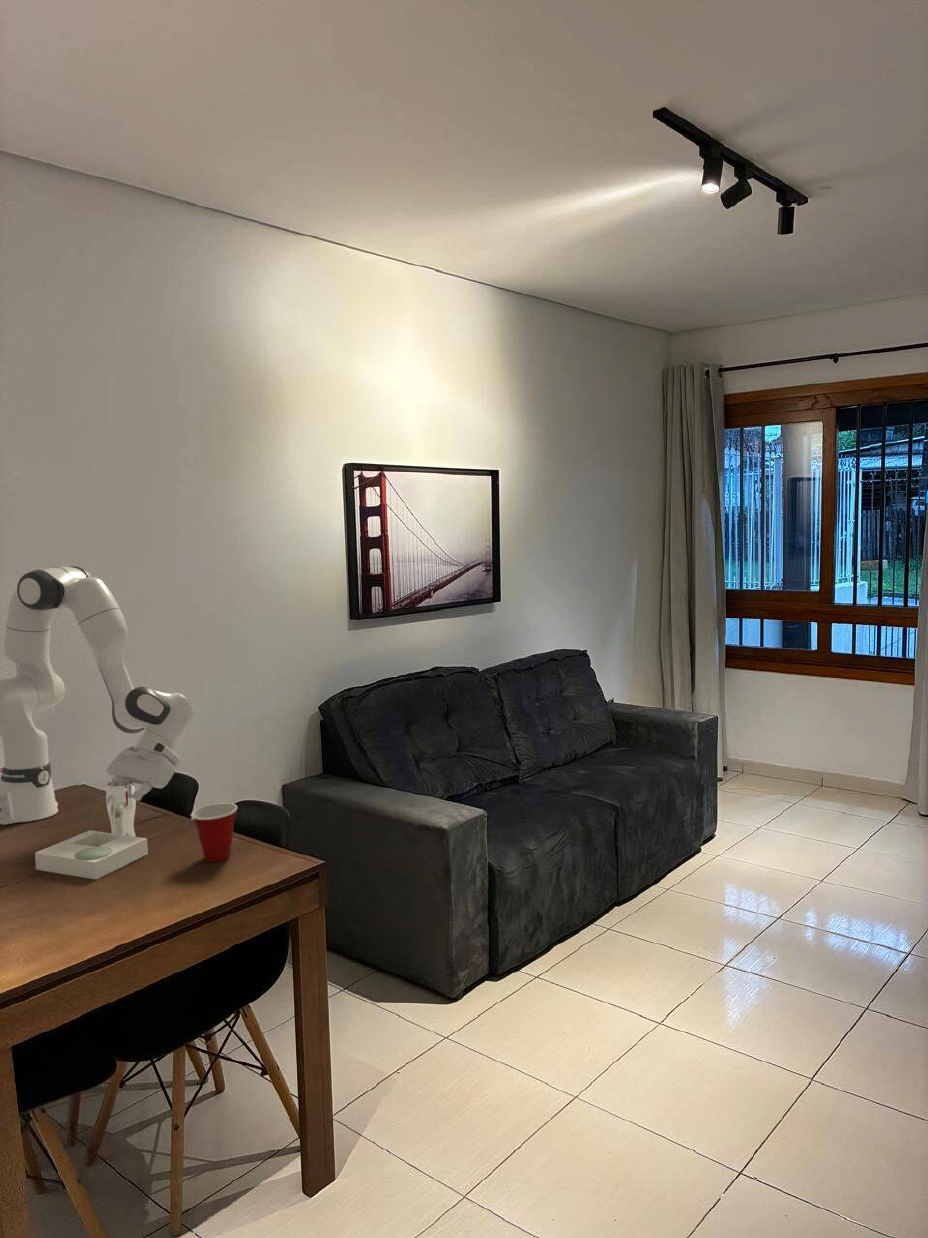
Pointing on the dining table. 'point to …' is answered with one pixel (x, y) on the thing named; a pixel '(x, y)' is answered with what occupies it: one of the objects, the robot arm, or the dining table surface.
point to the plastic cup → (215, 829)
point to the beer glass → (121, 806)
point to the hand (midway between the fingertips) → (123, 796)
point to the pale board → (91, 854)
